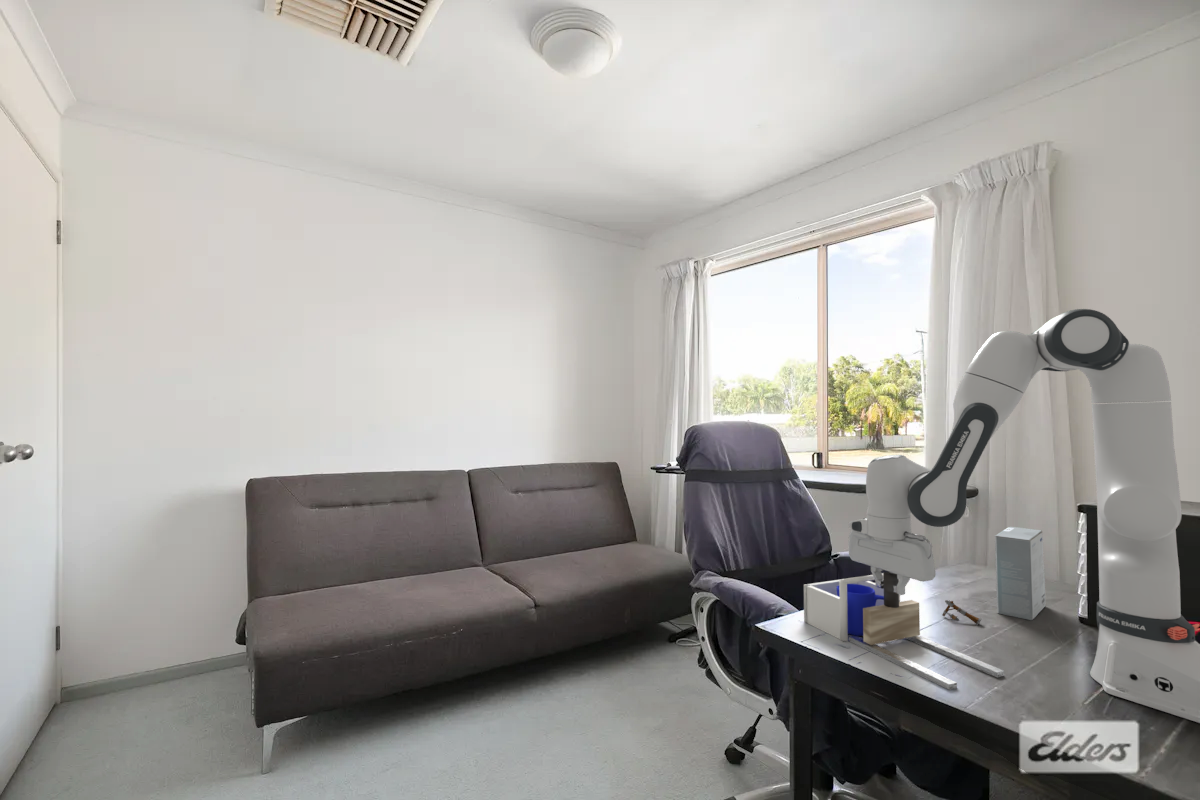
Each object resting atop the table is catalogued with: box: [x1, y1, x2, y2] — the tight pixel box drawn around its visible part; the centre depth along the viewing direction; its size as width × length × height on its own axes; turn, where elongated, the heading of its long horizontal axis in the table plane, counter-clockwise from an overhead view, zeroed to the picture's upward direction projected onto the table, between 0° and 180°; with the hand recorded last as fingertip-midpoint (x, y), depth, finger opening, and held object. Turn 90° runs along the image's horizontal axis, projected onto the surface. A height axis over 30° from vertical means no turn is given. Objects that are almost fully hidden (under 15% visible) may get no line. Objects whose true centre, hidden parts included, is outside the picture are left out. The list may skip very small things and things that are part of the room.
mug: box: [836, 584, 884, 637], centre depth 131 cm, size 8×12×10 cm
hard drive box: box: [994, 526, 1047, 621], centre depth 147 cm, size 16×8×20 cm, turn 132°
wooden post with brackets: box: [941, 599, 983, 626], centre depth 139 cm, size 2×8×4 cm, turn 45°
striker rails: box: [848, 635, 1005, 691], centre depth 118 cm, size 24×15×1 cm, turn 21°
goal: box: [803, 572, 901, 642], centre depth 136 cm, size 13×18×14 cm
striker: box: [862, 571, 921, 645], centre depth 125 cm, size 3×14×14 cm, turn 111°
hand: (890, 590), depth 126 cm, fingers open, 3 cm apart
